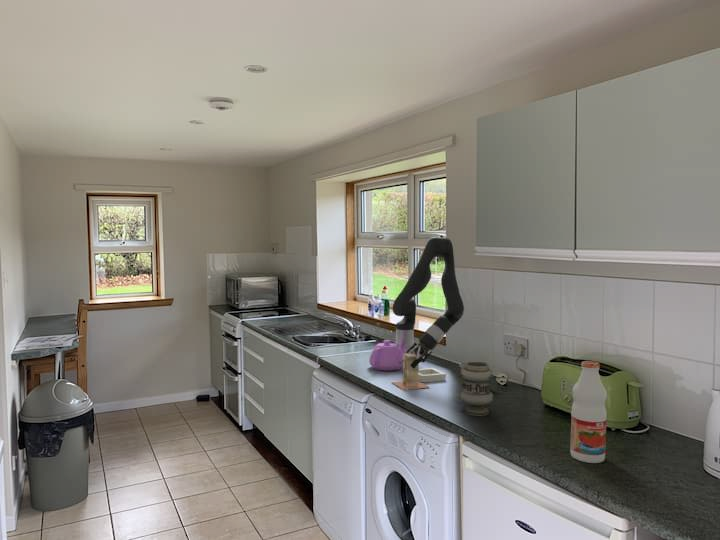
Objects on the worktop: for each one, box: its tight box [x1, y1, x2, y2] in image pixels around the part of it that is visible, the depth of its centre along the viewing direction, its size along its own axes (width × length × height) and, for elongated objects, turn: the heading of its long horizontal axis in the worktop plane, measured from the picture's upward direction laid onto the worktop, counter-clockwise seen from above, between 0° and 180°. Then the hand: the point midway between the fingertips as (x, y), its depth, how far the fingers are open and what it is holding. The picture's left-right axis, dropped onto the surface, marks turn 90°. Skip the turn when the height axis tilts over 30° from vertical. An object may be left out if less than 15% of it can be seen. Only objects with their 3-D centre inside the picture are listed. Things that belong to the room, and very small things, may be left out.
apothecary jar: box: [459, 360, 494, 417], centre depth 199 cm, size 12×12×18 cm
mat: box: [391, 380, 430, 391], centre depth 234 cm, size 12×12×1 cm
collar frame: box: [418, 367, 447, 383], centre depth 247 cm, size 12×12×3 cm
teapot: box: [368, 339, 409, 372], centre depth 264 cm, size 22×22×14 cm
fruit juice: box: [570, 360, 608, 464], centre depth 157 cm, size 9×9×28 cm
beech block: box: [402, 353, 419, 386], centre depth 234 cm, size 5×5×13 cm
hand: (407, 365), depth 233 cm, fingers open, 8 cm apart
